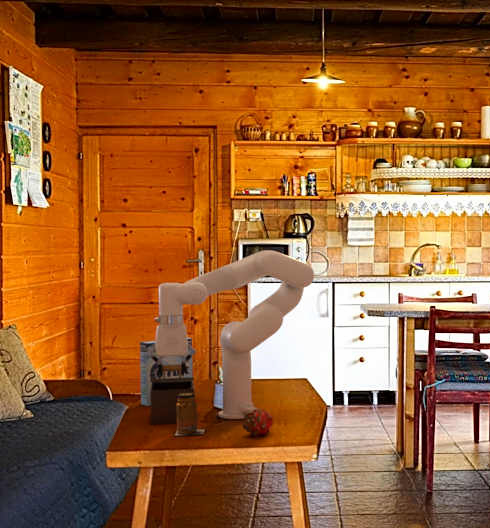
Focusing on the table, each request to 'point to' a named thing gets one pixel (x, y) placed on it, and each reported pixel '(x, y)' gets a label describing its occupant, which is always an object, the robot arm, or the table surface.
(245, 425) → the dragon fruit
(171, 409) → the chest
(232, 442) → the table surface
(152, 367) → the gum box
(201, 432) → the condiment
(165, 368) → the dark brown upright block
